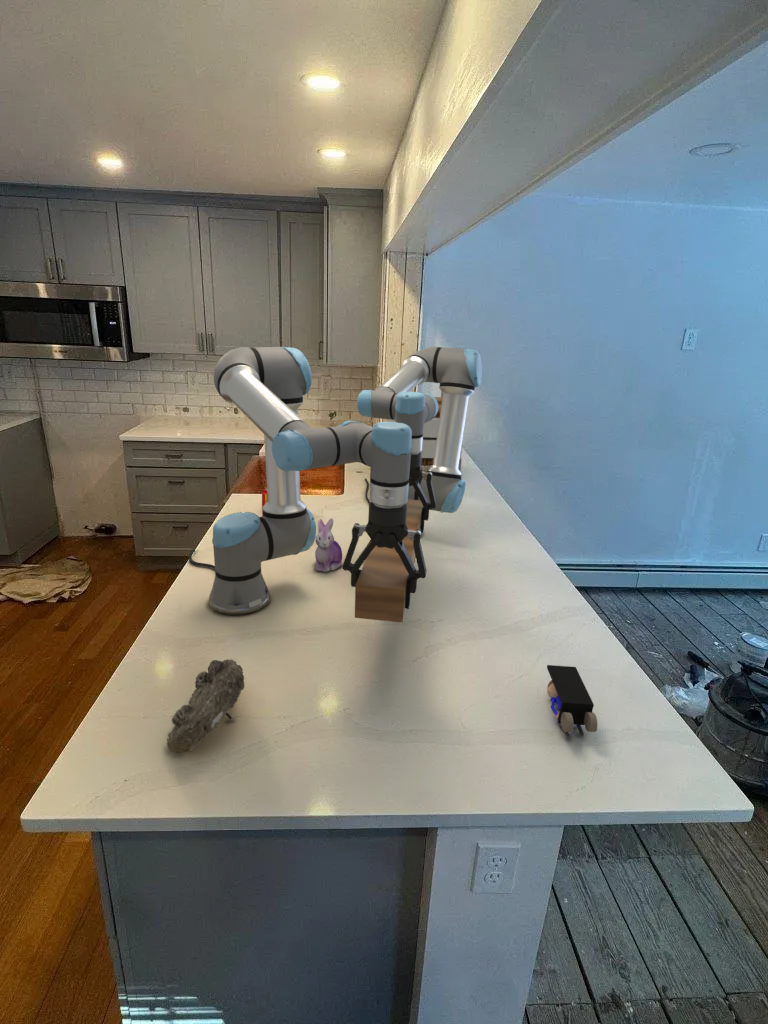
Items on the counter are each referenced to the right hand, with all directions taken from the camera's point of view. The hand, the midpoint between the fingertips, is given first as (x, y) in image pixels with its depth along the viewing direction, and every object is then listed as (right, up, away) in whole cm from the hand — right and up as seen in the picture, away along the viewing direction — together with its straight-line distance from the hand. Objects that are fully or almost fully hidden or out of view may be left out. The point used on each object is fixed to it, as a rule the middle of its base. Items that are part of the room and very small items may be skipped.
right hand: (403, 528), depth 159 cm
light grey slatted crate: (+12, +24, +116) cm, 119 cm away
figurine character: (+31, -36, -47) cm, 66 cm away
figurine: (-22, -12, +14) cm, 29 cm away
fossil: (-38, -34, -51) cm, 72 cm away
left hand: (-6, -14, -40) cm, 43 cm away
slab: (-3, -8, -20) cm, 22 cm away
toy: (-44, +3, +53) cm, 69 cm away
